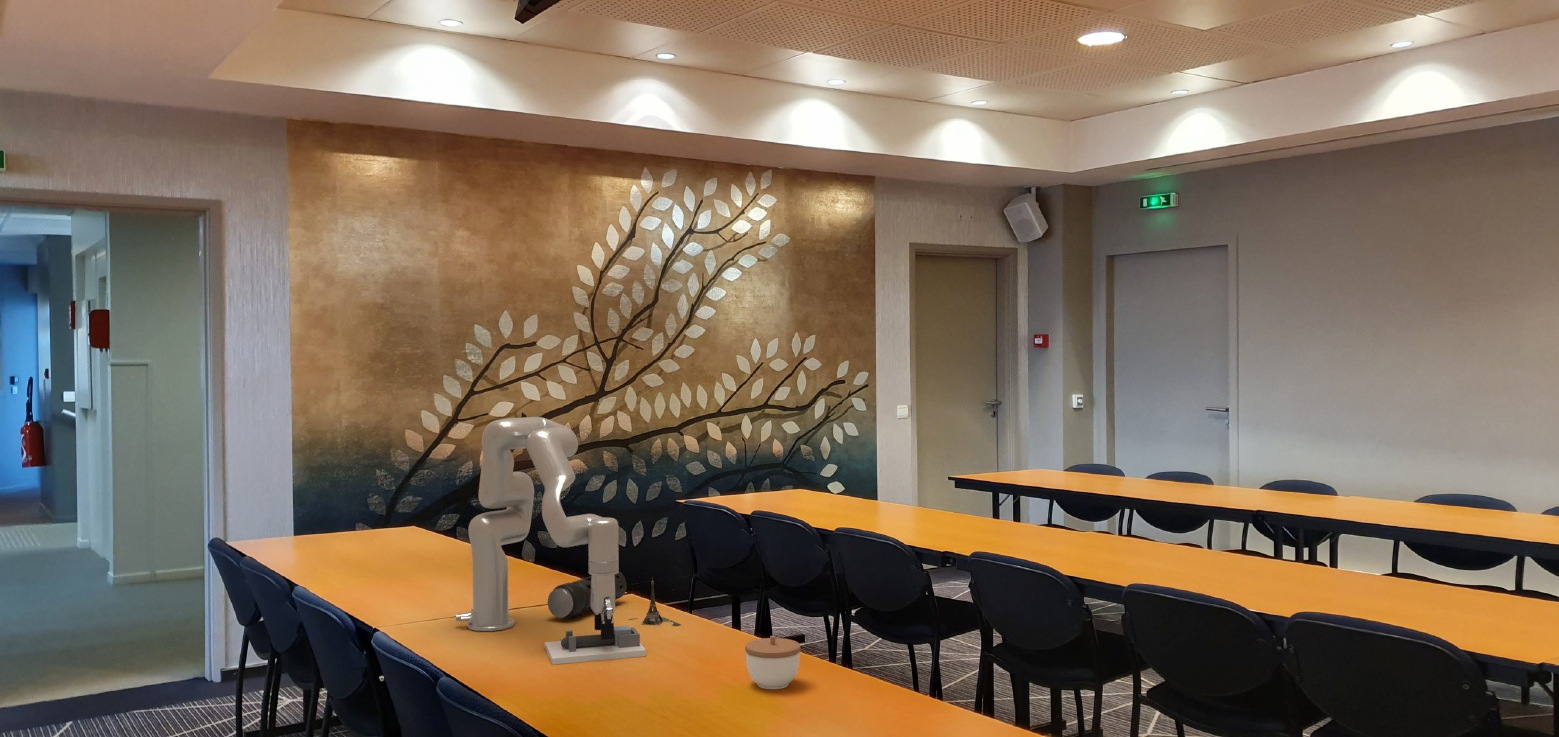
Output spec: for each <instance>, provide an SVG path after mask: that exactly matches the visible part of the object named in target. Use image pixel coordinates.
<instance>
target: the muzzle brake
mask: <svg viewBox="0 0 1559 737" xmlns="http://www.w3.org/2000/svg"><path fill="white" fill-rule="evenodd" d="M614 576H615V601H616V600H618V599H620V598H622V597H623V596H624V595H625V593H626V592H627V589H628V588H627V587H628V586H627V580H626V578H625V577H626V576H625V575H624V574H623V573H622V572H621V571H619V572H618V573H617V574H614ZM591 578H592V575H591V576H588V577H584V578H581V579H578V580H575V581H572V582H565V583H563V584H559V585H557V586H555V588H553V590H552V591H550V593H549V595H548V597H547V607H548V610H549V613H550V614H552V615H553V616H554V617H555V618H558V619H570V618H571V619H576V618H578V617H580V616H581V615H582V613H584V612H587V611H593V610H592V609H591V605H590V604H591Z"/></svg>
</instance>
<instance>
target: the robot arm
mask: <svg viewBox="0 0 1559 737" xmlns="http://www.w3.org/2000/svg"><path fill="white" fill-rule="evenodd" d="M578 447H579V441H578V437H577V436H576V433H575V432H574V431H573V430H572V429H571V428H569V427H568V426H565V425H564V424H561V423H559V422H556V421H554V420H550V419H548V418H545V417H542V416H529V417H525V416H524V417H508V418H499V419H497V420H493V421H491V422H489V423H488V424H487V425H486V426H485V428H484V430H483V431H482V436H481V449H482V462H481V470H480V478H479V485H478V501H479V504H480V505H481V506H482V507H483V508H486V509H495V510H494V511H487V512H484V513H480V514H477V515H476V516H474V517H473V518H472V519H470V521H469V522H470V523H469V525H468V537H469V542H470V548H471V555H472V608H471V611H468V612H467V613H455V622H461V623H462V622H467V628H468V630H470V631H476V632H494V631H495V632H496V631H501V630H506V629H510V628H513V627H514V625H515V619H513V618H512V617H509V614H510V613H509V561H508V557H507V555H506V553H505V551H504V550H503V548H502V546H504V545H508V544H514V543H518V542H522V541H524V540H525V539H526V538H527V537H528V534H529V533H530V528H531V523H532V516H533V508H534V500H535V487H534V483H533V480H532V478H531V476H529V475H528V474H527V473H525V472H523V471H514V468H515V467H514V466H515V459H514V456H513V452H512V451H511V450H519V449H520V450H521V449H524V450H525V449H526V450H527V452H528V453H527V454H528V455H529V457H530V459H531V462H532V463H533V466H534V467H535V469H536V472H537V474H538V477H539V478H540V481H541V483H542V485H543V487H544V493H543V496H542V501H541V517H542V520H543V523H544V525H545V527H546V529H547V532H548V534H549V536H550V538H551V539H552V541H553V542H554V543H555V545H557V546H558V547H561V548H571V547H575V546H576V547H577V546H581V545H587V544H588V574H589V575H591V576H592V578H591V604H590V605H591V609H592V610H591V611H592V612H593V613H594V618H593V619H594V630H595V631H600V634H601V639H602V640H606V639H613V638H614V627H615V622H614V613H615V611H616V600H615V576H614V574H617V573H618V572H620V571H619V570H620V568H619V564H620V563H619V562H620V561H619V559H620V558H619V521H618V520H617V519H616V518H614V517H603V516H600V515H597V514H594V513H586V514H579V515H573V516H571V515H570V516H566V514H565V511H564V509H563V507H562V504H561V494H562V492H563V491H565V490H566V489H567V488H568V487H570V486H571V485H572V484H573V483H574V481H575V480H576V474H575V471H574V470H573V467H572V465H571V463H570V461H569V459H568V458H571V457H573V456H574V455H576V453H577V451H578ZM504 508H506V509H504ZM496 509H500V510H496ZM501 509H503V510H501Z"/></svg>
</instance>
